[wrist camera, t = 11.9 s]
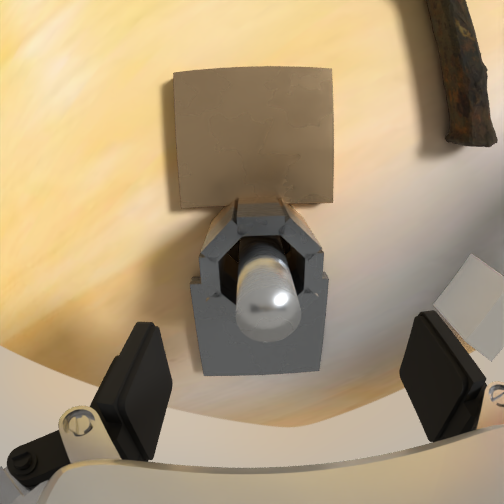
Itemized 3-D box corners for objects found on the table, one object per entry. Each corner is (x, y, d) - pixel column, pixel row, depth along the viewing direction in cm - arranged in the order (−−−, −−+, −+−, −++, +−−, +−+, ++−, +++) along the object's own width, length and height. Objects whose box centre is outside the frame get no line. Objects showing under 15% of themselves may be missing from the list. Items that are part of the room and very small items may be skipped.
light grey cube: (495, 281, 25) (531, 310, 19) (461, 327, 27) (491, 361, 21) (470, 252, 24) (510, 281, 18) (431, 304, 25) (465, 341, 20)
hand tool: (474, 144, 20) (510, 150, 16) (438, 143, 20) (475, 149, 16) (432, -51, 13) (458, -69, 9) (394, -61, 13) (418, -84, 9)
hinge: (327, 71, 18) (356, 52, 13) (316, 361, 27) (330, 411, 22) (177, 75, 18) (152, 57, 13) (205, 366, 27) (198, 417, 21)
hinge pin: (279, 219, 22) (302, 286, 13) (279, 256, 23) (299, 340, 14) (239, 220, 22) (233, 288, 13) (240, 257, 23) (237, 343, 14)
